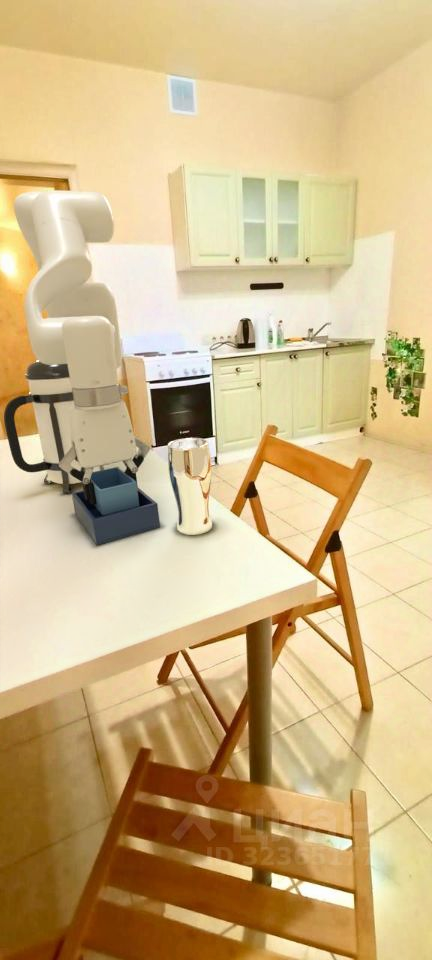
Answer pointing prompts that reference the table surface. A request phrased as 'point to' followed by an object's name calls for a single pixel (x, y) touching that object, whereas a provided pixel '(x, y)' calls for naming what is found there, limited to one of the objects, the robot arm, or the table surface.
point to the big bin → (116, 518)
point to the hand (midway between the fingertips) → (112, 496)
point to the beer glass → (191, 483)
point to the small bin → (114, 490)
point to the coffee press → (46, 421)
